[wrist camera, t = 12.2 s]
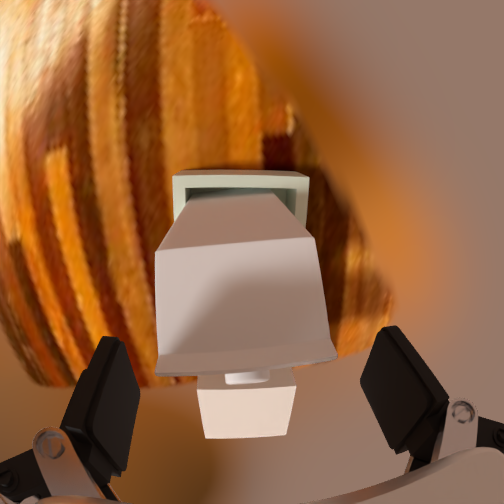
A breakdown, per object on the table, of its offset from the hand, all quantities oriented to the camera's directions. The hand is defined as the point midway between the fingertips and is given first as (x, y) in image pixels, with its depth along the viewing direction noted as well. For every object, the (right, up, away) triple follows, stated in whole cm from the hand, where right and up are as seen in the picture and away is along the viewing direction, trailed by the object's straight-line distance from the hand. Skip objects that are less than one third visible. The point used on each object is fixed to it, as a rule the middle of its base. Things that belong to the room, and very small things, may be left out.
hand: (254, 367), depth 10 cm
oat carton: (-2, -3, +22) cm, 22 cm away
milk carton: (-2, +7, +18) cm, 20 cm away
